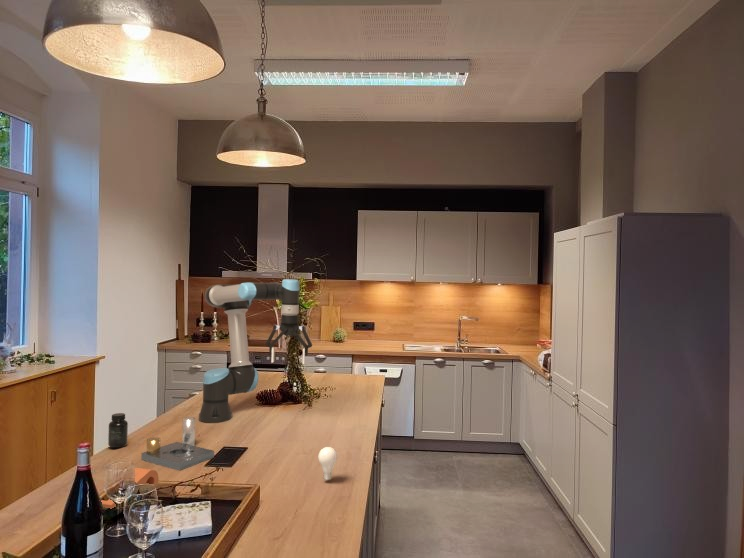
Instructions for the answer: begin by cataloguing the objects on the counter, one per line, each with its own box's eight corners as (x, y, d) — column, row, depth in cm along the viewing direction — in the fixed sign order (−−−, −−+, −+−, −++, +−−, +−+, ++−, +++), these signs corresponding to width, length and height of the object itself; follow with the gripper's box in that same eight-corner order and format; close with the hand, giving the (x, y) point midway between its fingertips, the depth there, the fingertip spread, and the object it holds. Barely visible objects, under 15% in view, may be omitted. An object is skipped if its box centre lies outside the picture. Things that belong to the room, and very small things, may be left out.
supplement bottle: (113, 441, 213) (114, 412, 213) (130, 442, 212) (131, 412, 212) (104, 447, 206) (105, 416, 206) (122, 447, 206) (122, 417, 206)
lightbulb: (317, 476, 180) (318, 444, 180) (336, 476, 181) (337, 444, 181) (317, 483, 174) (318, 450, 174) (336, 483, 174) (337, 450, 174)
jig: (140, 459, 193) (141, 440, 193) (176, 448, 207) (176, 430, 207) (179, 470, 183) (180, 450, 183) (214, 457, 197) (214, 438, 197)
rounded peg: (179, 446, 208) (180, 419, 208) (188, 443, 212) (189, 416, 212) (187, 448, 206) (188, 420, 206) (197, 445, 210) (197, 418, 210)
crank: (136, 488, 168) (137, 463, 168) (158, 491, 166) (158, 466, 166) (87, 515, 148) (88, 487, 148) (111, 519, 146) (111, 490, 146)
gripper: (259, 314, 227) (258, 363, 228) (317, 316, 228) (315, 365, 228) (263, 312, 235) (261, 360, 235) (319, 314, 235) (317, 362, 235)
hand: (288, 362), depth 232 cm, fingers open, 13 cm apart
